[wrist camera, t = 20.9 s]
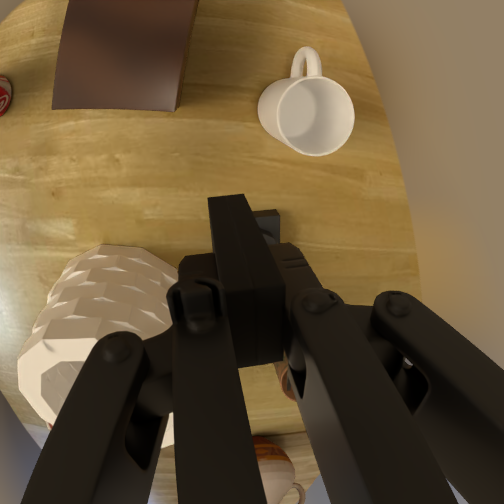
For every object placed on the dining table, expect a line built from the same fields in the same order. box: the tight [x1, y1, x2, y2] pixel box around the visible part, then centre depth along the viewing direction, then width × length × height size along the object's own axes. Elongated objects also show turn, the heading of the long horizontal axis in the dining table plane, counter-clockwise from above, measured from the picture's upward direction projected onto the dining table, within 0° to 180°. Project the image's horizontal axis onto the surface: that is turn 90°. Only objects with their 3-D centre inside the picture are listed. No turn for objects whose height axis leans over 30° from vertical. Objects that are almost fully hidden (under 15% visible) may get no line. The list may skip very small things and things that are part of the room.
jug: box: [252, 436, 305, 504], centre depth 62 cm, size 20×18×30 cm
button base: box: [252, 209, 280, 245], centre depth 44 cm, size 10×8×4 cm
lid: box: [52, 0, 195, 112], centre depth 20 cm, size 16×13×7 cm
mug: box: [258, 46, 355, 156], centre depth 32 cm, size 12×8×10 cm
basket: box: [17, 244, 178, 448], centre depth 40 cm, size 25×24×19 cm
